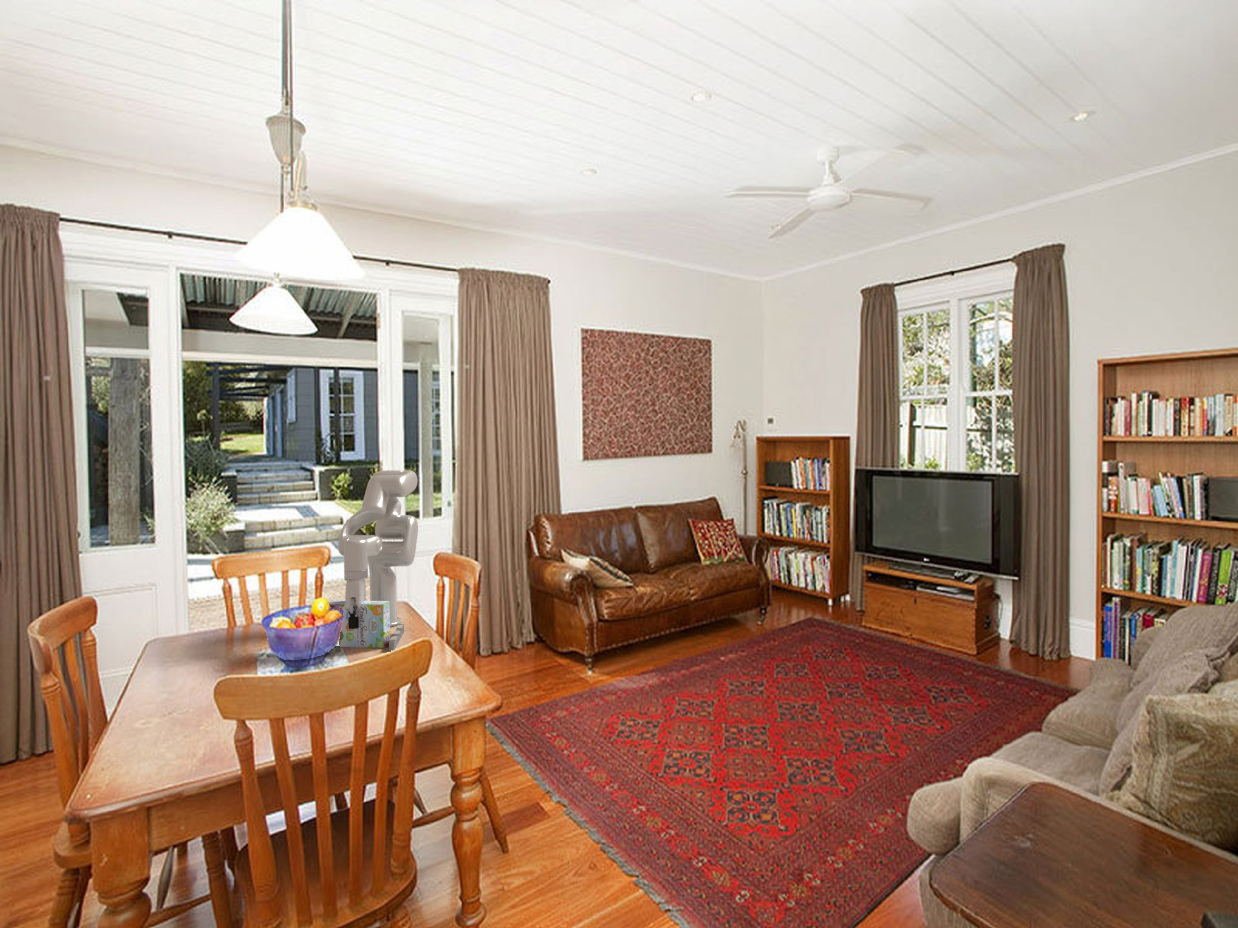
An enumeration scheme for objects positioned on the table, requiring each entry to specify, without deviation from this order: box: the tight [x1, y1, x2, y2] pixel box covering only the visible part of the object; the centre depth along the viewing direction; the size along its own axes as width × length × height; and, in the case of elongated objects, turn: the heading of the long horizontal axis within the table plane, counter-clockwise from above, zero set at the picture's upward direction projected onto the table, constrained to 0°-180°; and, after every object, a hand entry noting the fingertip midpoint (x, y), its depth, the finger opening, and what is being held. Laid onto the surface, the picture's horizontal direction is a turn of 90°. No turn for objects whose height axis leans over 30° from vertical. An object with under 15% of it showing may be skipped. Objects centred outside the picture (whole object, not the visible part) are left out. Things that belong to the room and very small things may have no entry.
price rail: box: [388, 623, 405, 652], centre depth 221 cm, size 22×2×3 cm, turn 10°
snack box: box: [327, 600, 391, 649], centre depth 216 cm, size 21×6×15 cm, turn 84°
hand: (357, 624), depth 216 cm, fingers open, 9 cm apart
